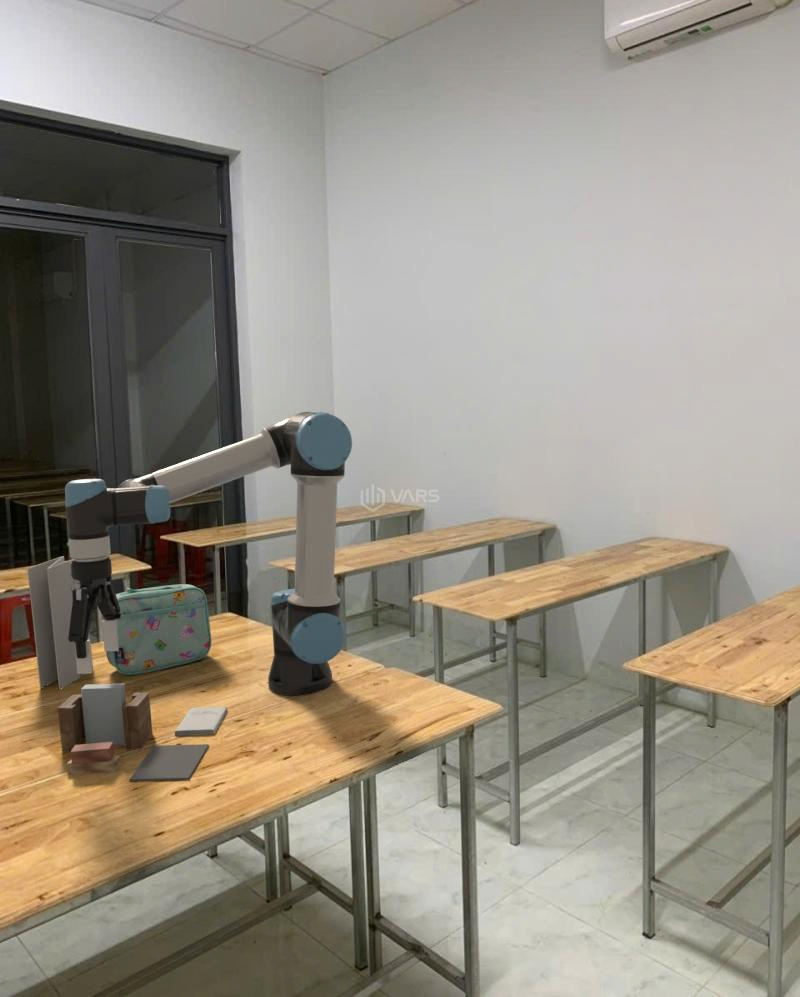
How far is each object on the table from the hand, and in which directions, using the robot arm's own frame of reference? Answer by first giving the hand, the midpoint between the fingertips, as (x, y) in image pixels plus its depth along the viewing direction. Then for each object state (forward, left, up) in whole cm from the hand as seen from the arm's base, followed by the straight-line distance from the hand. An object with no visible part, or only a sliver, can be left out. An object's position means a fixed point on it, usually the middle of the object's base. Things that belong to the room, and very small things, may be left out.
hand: (98, 661), depth 165 cm
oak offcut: (-2, +12, -18) cm, 21 cm away
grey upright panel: (0, 0, -17) cm, 17 cm away
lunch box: (+4, -46, -17) cm, 50 cm away
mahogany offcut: (-2, +12, -15) cm, 19 cm away
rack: (0, 0, -17) cm, 17 cm away
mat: (-16, +10, -17) cm, 26 cm away
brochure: (+25, -38, -17) cm, 49 cm away
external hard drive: (-17, -9, -18) cm, 26 cm away
